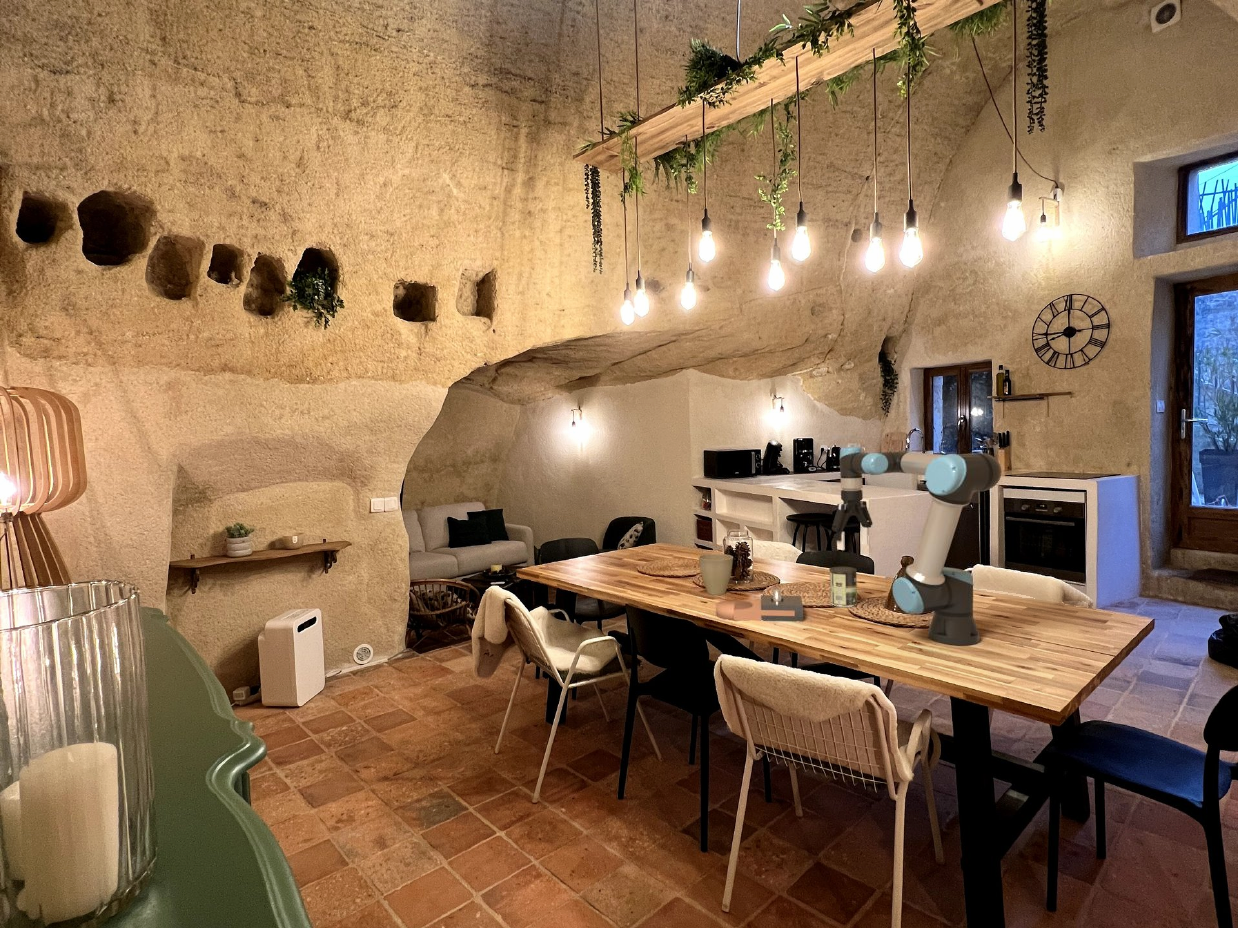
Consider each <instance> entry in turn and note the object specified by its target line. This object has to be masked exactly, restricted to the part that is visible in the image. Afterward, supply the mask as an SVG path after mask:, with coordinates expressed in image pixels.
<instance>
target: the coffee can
mask: <svg viewBox="0 0 1238 928" xmlns="http://www.w3.org/2000/svg"><path fill="white" fill-rule="evenodd" d="M857 570H858V569H857V568H855V567H850V566H833V567H829V583H830V584H829V585H830V586H829V588H830V589H829V590H830V592H829V593H830V594H829V595H830V605H831V604H832V606H833V605H834V607H838V608H853V607H852V606H853V605H856V604H857V605H858V586H857V585H858V584H857V582H858V581H857V577H858V576H857Z"/></svg>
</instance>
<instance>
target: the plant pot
mask: <svg viewBox="0 0 1238 928" xmlns="http://www.w3.org/2000/svg"><path fill="white" fill-rule="evenodd" d="M733 563H734V556H732V555H730V554H725V553H708V554H707V553H706V554H701V555H699V556H698V564H699V568H700V573H701V577H702V581H703V584H704V587H705V589H706V592H707V594H708V595H711V596H722V595H725V594H726V591H727V589H728V584H729V582H730V579H731V573H732V569H733Z"/></svg>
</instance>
